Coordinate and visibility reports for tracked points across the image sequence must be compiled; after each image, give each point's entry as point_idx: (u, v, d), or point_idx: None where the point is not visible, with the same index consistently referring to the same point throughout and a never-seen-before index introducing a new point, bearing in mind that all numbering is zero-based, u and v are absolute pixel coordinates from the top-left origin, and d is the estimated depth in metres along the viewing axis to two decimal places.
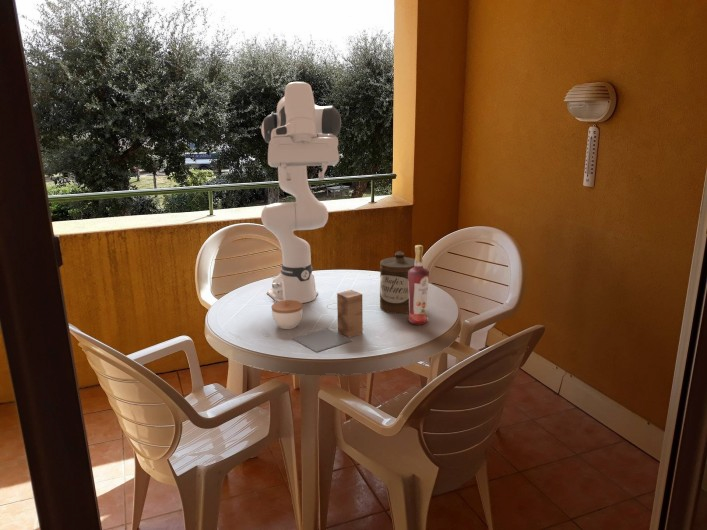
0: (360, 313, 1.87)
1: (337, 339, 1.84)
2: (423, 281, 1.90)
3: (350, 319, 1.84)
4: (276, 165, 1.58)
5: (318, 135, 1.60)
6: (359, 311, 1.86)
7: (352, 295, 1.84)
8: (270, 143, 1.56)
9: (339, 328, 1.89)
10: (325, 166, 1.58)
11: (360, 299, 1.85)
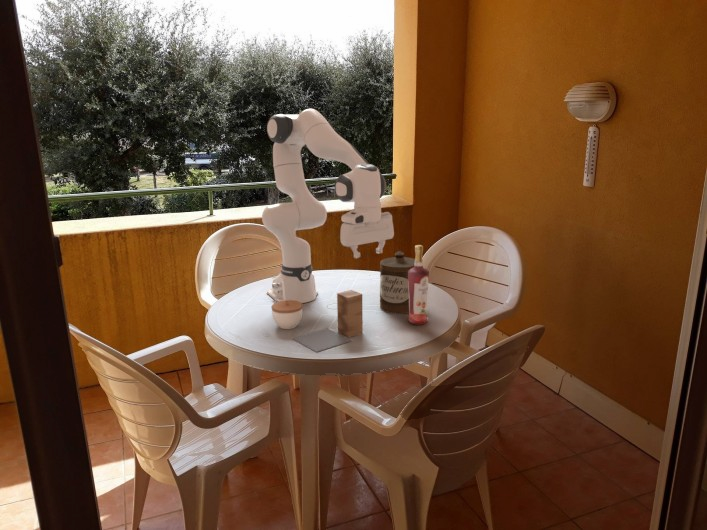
0: (360, 313, 1.87)
1: (337, 339, 1.84)
2: (423, 281, 1.90)
3: (350, 319, 1.84)
4: None
5: None
6: (359, 311, 1.86)
7: (352, 295, 1.84)
8: (349, 230, 1.77)
9: (339, 328, 1.89)
10: (383, 243, 1.88)
11: (360, 299, 1.85)
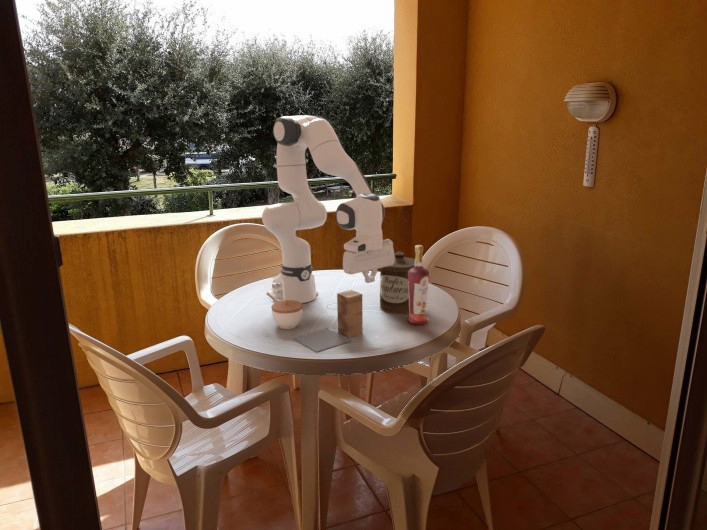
0: (360, 313, 1.87)
1: (337, 339, 1.84)
2: (423, 281, 1.90)
3: (350, 319, 1.84)
4: None
5: None
6: (359, 311, 1.86)
7: (352, 295, 1.84)
8: (352, 258, 1.80)
9: (339, 328, 1.89)
10: (376, 272, 1.89)
11: (360, 299, 1.85)
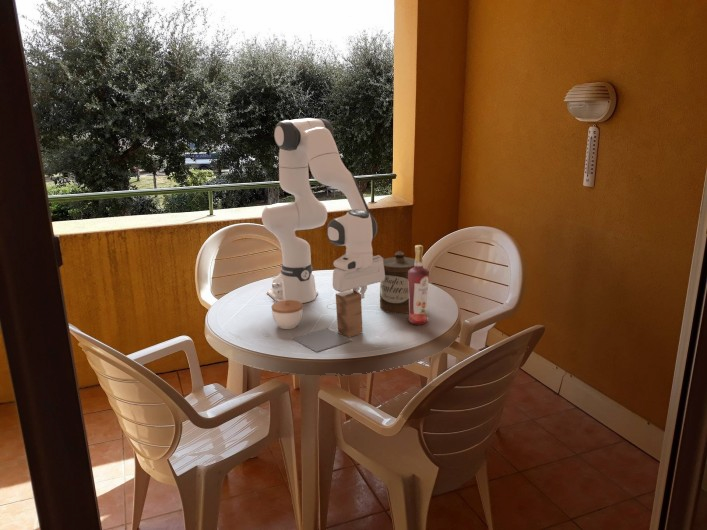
0: (359, 313, 1.86)
1: (337, 339, 1.84)
2: (423, 281, 1.90)
3: (349, 320, 1.84)
4: None
5: None
6: (358, 311, 1.86)
7: (351, 296, 1.83)
8: (342, 276, 1.79)
9: (339, 328, 1.89)
10: (365, 289, 1.88)
11: (359, 299, 1.85)
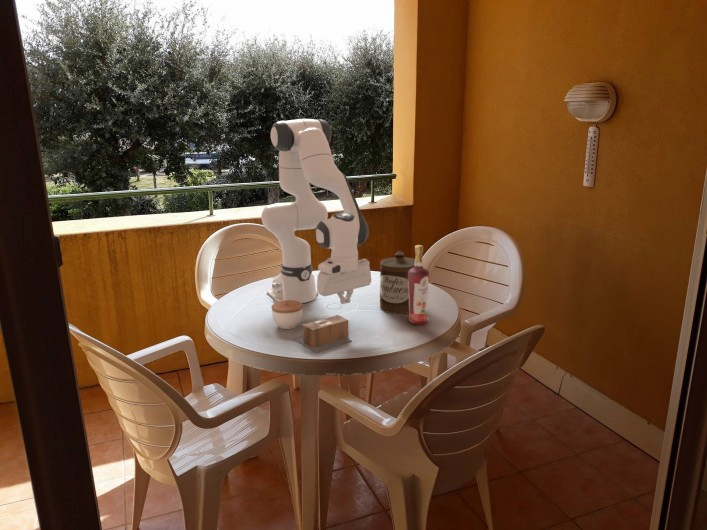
0: (330, 327, 1.80)
1: None
2: (423, 281, 1.90)
3: (333, 339, 1.82)
4: None
5: None
6: (328, 329, 1.79)
7: (312, 339, 1.77)
8: (326, 280, 1.75)
9: None
10: (351, 293, 1.85)
11: (317, 331, 1.77)
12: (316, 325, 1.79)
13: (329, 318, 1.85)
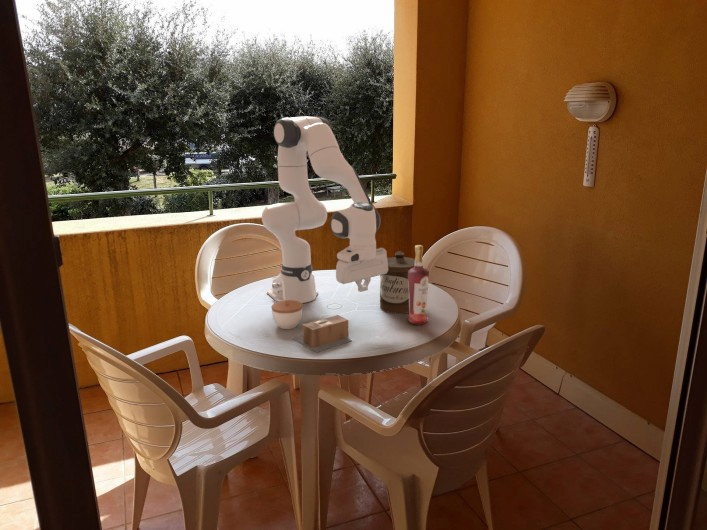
0: (330, 327, 1.80)
1: None
2: (423, 281, 1.90)
3: (333, 339, 1.82)
4: None
5: None
6: (328, 329, 1.79)
7: (312, 339, 1.77)
8: (345, 268, 1.80)
9: None
10: (369, 281, 1.89)
11: (317, 331, 1.77)
12: (316, 325, 1.79)
13: (329, 318, 1.85)
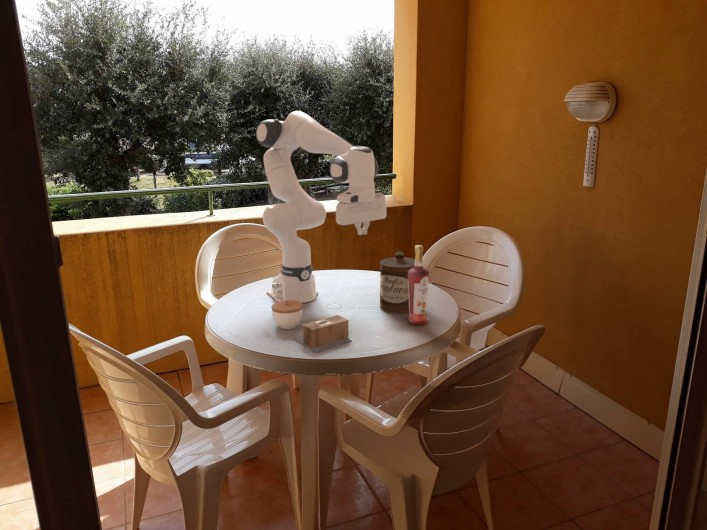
0: (330, 327, 1.80)
1: None
2: (423, 281, 1.90)
3: (333, 339, 1.82)
4: None
5: None
6: (328, 329, 1.79)
7: (312, 339, 1.77)
8: (345, 209, 1.84)
9: None
10: (368, 224, 1.94)
11: (317, 331, 1.77)
12: (316, 325, 1.79)
13: (329, 318, 1.85)
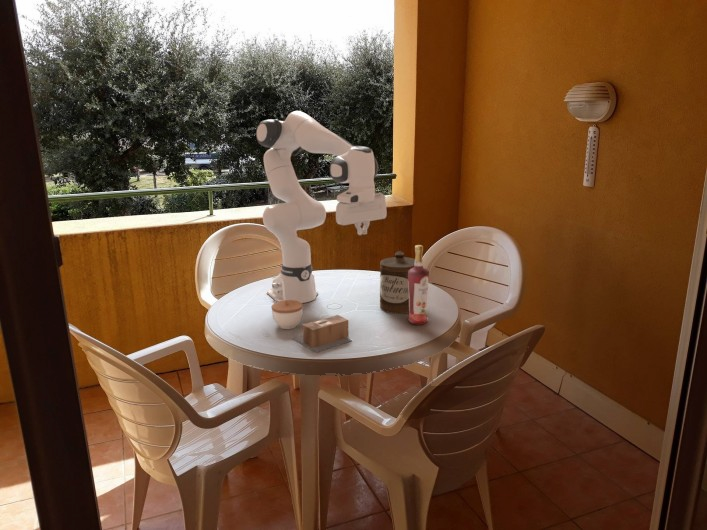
0: (330, 327, 1.80)
1: None
2: (423, 281, 1.90)
3: (333, 339, 1.82)
4: None
5: None
6: (328, 329, 1.79)
7: (312, 339, 1.77)
8: (345, 209, 1.84)
9: None
10: (368, 224, 1.94)
11: (317, 331, 1.77)
12: (316, 325, 1.79)
13: (329, 318, 1.85)
